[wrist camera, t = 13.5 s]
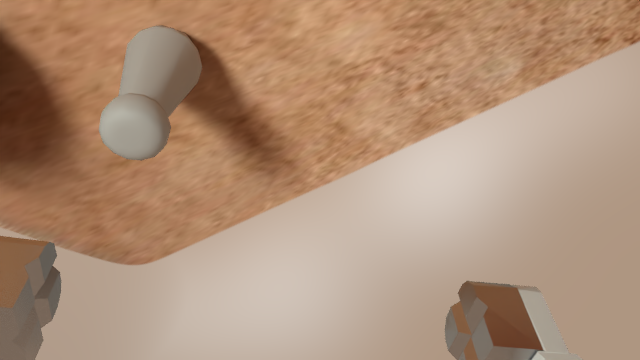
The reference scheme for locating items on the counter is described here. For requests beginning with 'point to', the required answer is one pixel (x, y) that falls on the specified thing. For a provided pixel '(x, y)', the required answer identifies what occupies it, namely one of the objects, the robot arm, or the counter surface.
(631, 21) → the counter surface
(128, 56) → the salt shaker
